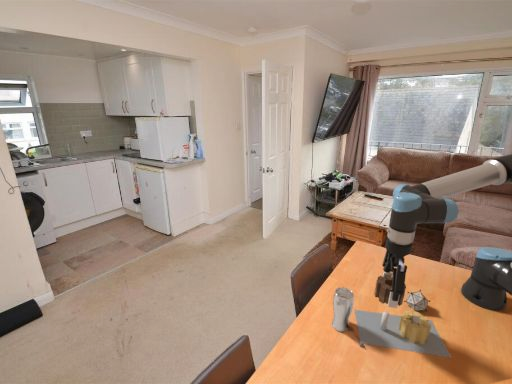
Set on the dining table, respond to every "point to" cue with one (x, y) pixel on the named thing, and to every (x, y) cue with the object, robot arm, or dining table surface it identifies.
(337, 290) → the beer glass
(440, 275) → the dining table surface
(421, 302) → the game die
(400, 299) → the walnut gear
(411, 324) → the gear
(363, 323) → the gear board
